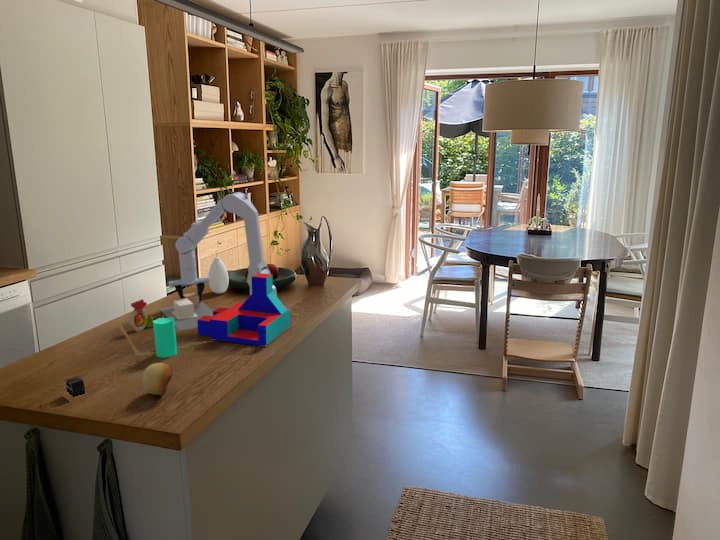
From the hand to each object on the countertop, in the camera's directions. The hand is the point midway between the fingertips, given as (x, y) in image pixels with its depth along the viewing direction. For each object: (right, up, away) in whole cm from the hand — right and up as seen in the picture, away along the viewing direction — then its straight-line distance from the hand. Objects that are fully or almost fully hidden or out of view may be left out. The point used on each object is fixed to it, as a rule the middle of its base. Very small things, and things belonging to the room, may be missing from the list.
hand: (191, 303), depth 210 cm
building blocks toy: (+26, -8, -28) cm, 39 cm away
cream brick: (0, -3, -10) cm, 10 cm away
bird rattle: (-9, -8, -24) cm, 27 cm away
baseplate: (+3, -4, -11) cm, 12 cm away
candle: (+6, -12, -45) cm, 47 cm away
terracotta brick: (0, -1, 0) cm, 1 cm away
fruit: (+14, -18, -71) cm, 75 cm away
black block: (-7, -19, -71) cm, 74 cm away
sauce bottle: (+6, +2, +19) cm, 20 cm away
